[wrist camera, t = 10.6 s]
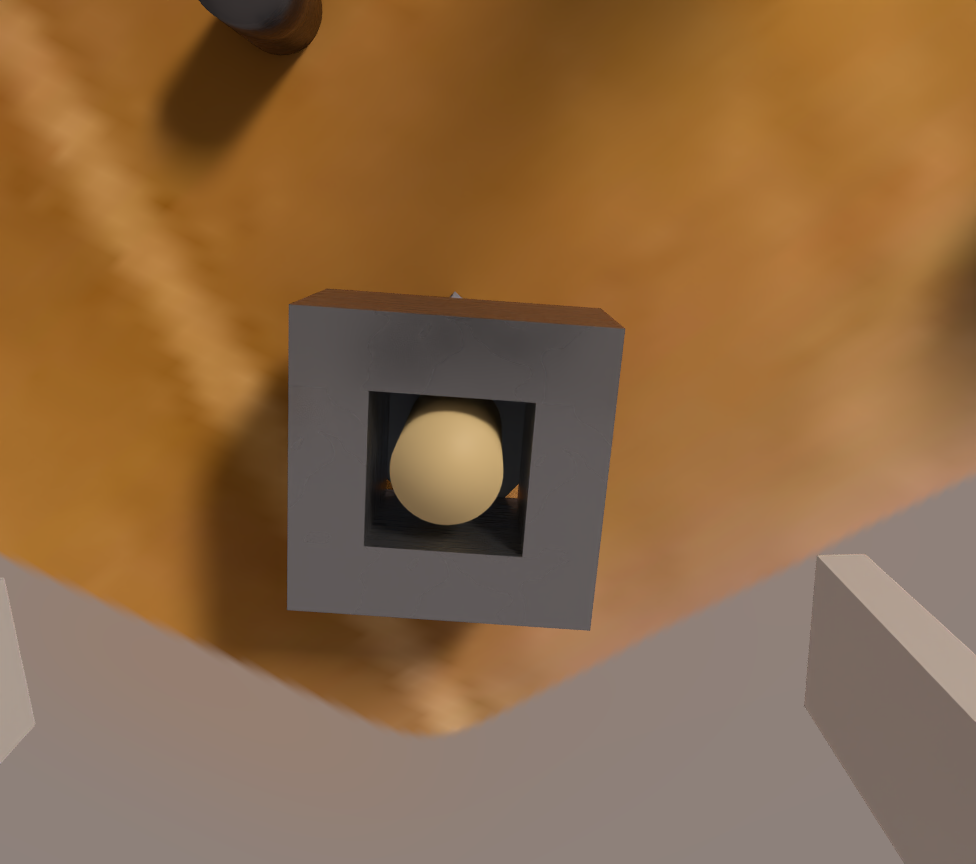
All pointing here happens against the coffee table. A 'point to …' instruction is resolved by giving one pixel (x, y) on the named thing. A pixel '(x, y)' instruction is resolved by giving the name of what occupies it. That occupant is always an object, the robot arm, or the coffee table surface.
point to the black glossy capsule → (271, 21)
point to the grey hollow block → (364, 456)
